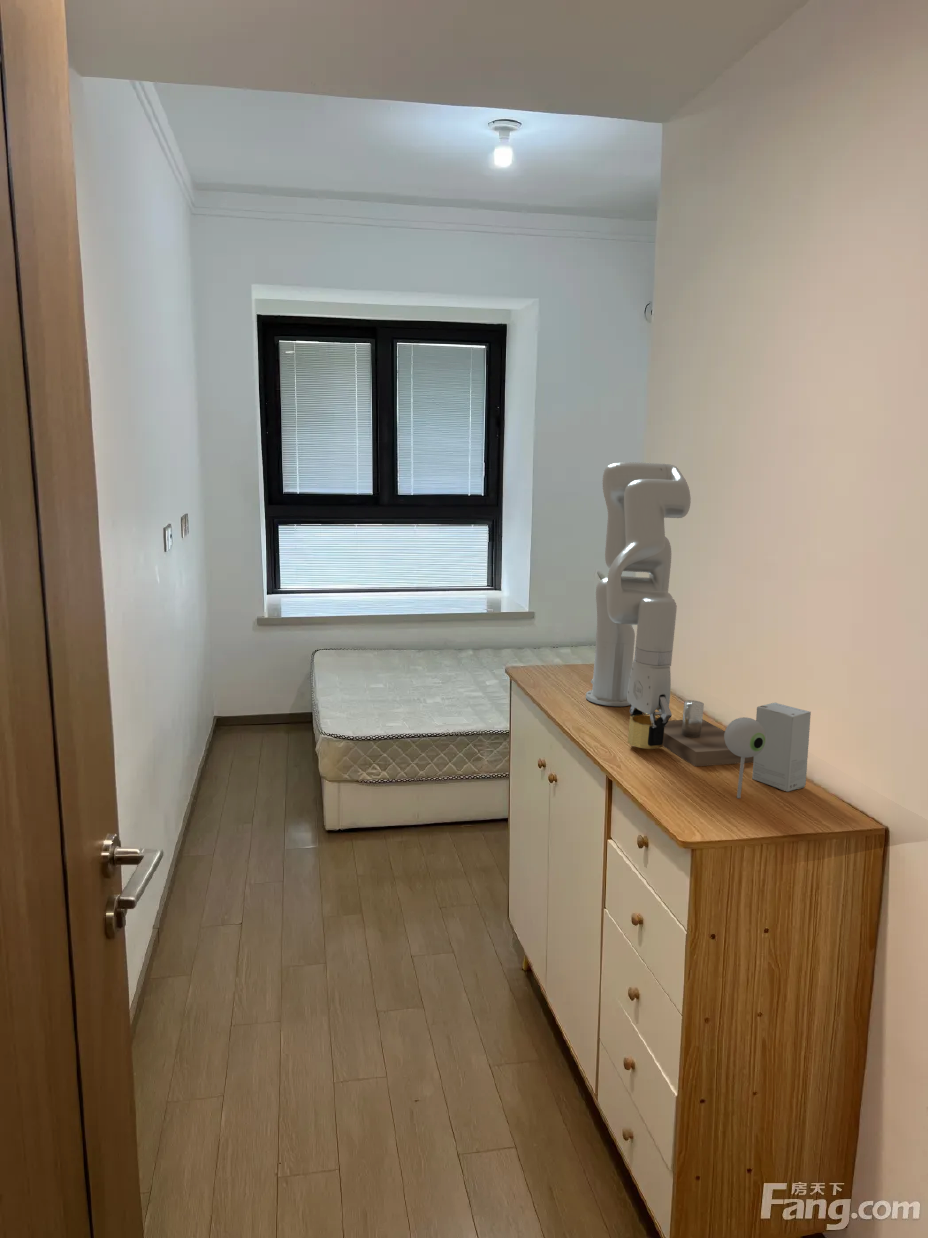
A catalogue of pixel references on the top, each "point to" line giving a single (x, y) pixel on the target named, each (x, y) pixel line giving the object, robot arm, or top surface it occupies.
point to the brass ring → (640, 731)
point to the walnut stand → (700, 745)
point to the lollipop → (744, 741)
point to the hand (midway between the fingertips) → (645, 737)
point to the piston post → (692, 719)
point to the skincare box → (783, 747)
